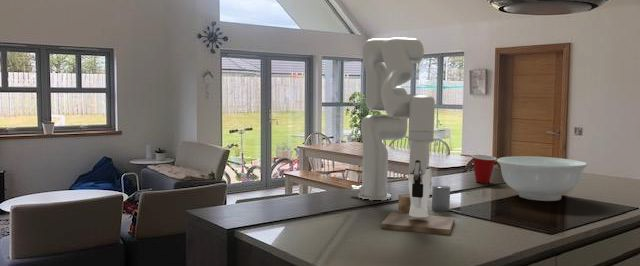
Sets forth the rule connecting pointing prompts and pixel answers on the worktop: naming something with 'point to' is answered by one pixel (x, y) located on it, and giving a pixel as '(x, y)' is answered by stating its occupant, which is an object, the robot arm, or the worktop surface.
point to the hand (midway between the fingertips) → (419, 194)
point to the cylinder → (440, 198)
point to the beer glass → (420, 204)
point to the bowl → (541, 176)
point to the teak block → (404, 204)
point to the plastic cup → (483, 167)
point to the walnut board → (418, 223)
